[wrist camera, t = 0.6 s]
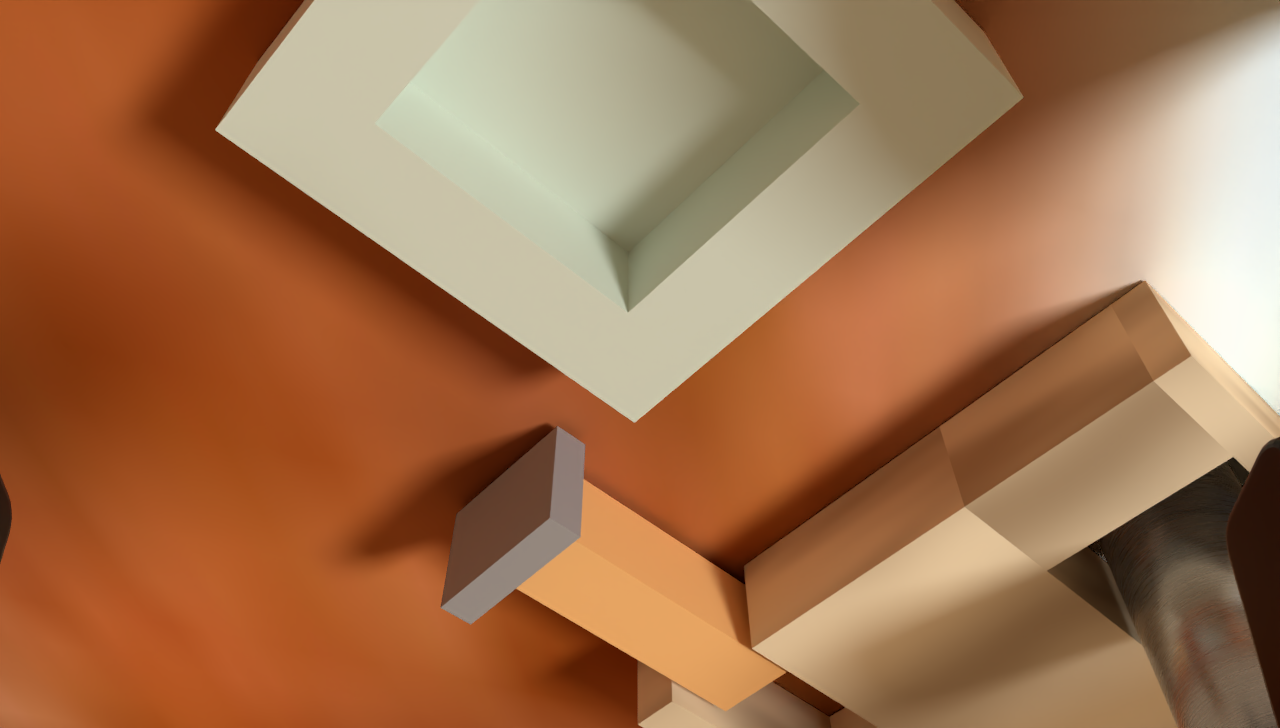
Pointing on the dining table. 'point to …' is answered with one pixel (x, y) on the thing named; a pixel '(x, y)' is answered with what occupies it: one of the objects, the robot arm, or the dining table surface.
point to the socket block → (995, 548)
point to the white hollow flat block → (618, 153)
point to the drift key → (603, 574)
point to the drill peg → (1191, 605)
